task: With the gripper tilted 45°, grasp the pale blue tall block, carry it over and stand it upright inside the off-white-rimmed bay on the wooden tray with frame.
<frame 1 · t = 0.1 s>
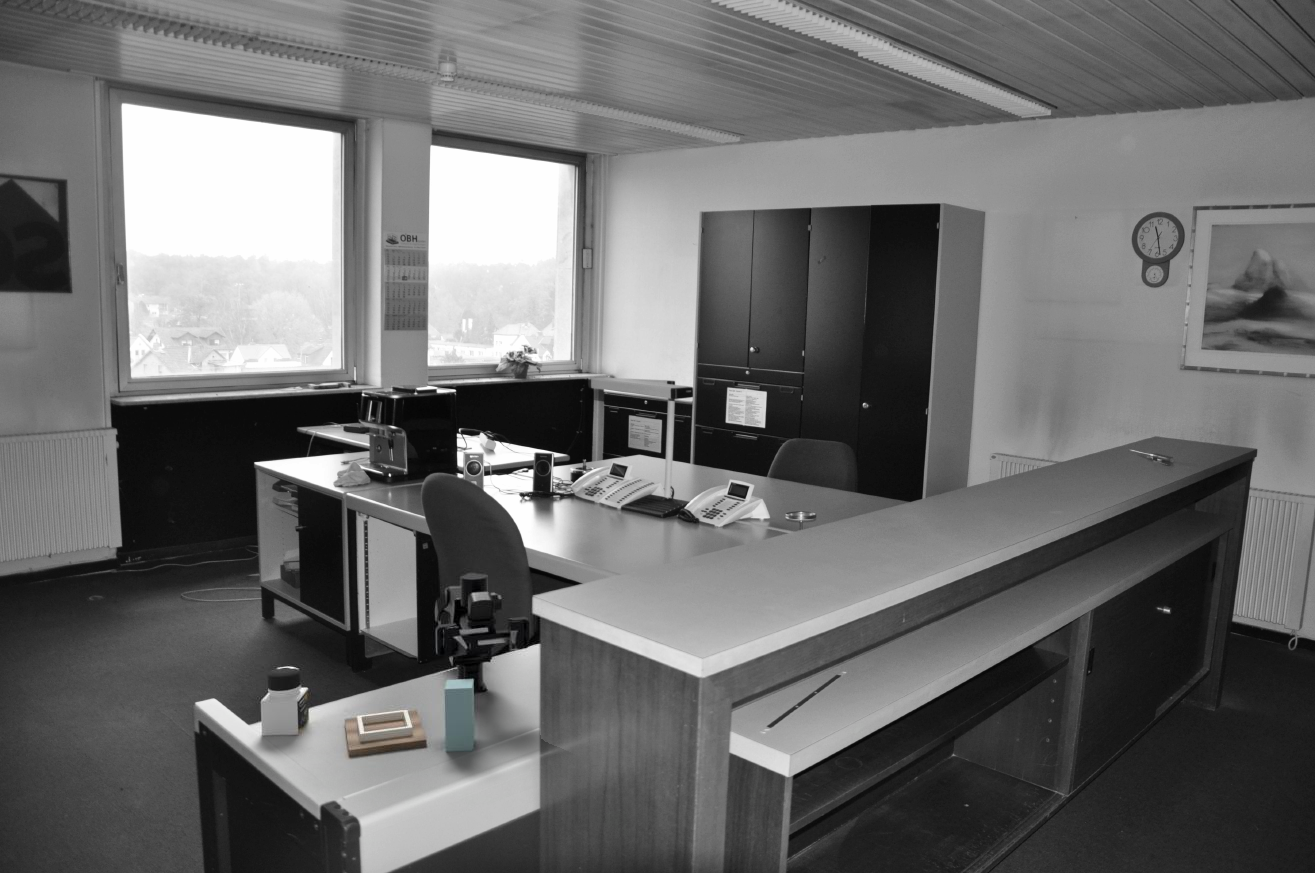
hand: (490, 648, 186), 17 cm above the table, tool horizontal, fingers open, 9 cm apart
medicine bottle: (285, 729, 188), on the table
pale blue tall block: (460, 745, 181), on the table
wooden tray with frame: (384, 734, 185), on the table
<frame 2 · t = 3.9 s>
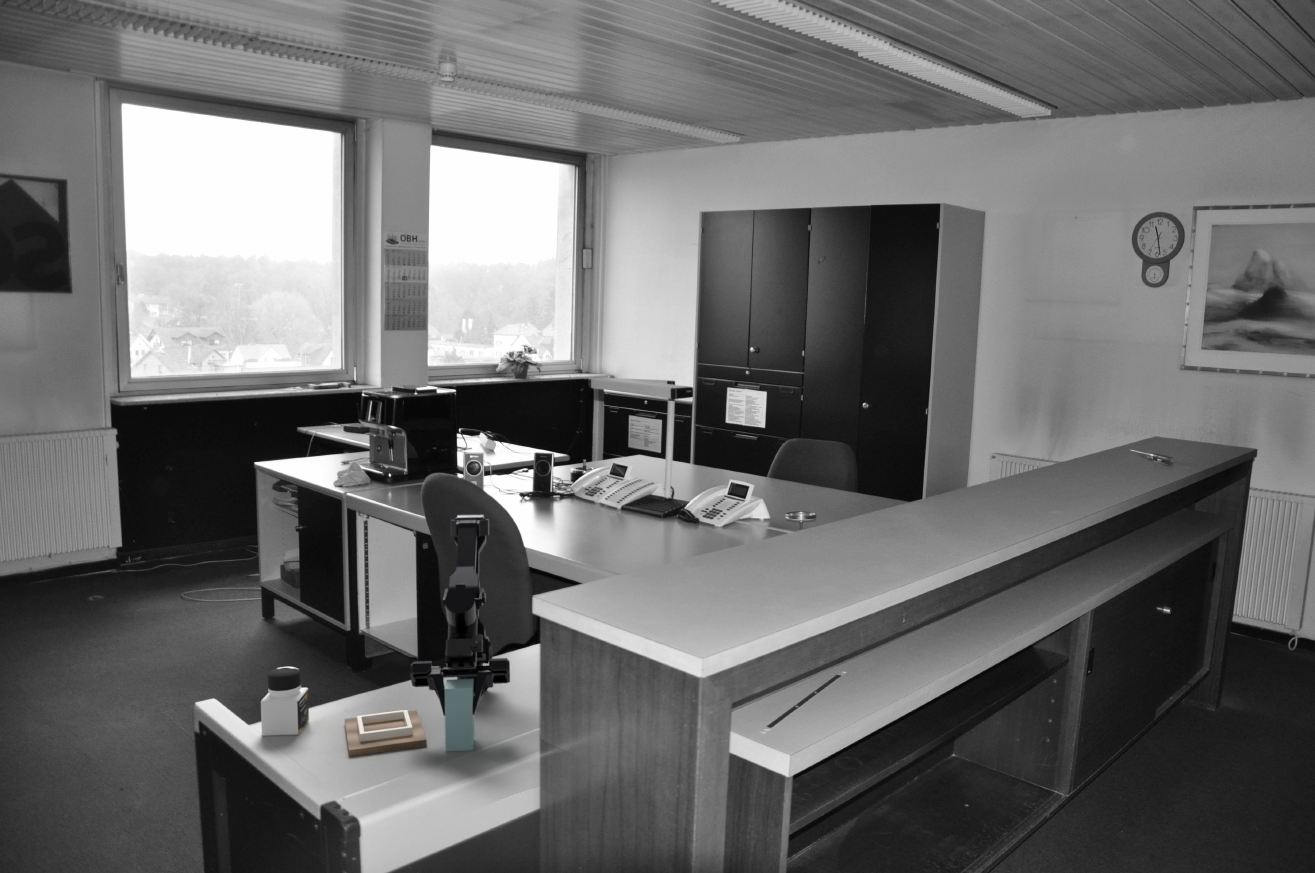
hand: (459, 714, 179), 7 cm above the table, tool tilted 45°, fingers closed on pale blue tall block, 5 cm apart
pale blue tall block: (460, 745, 181), on the table, touching gripper
everything else where it was.
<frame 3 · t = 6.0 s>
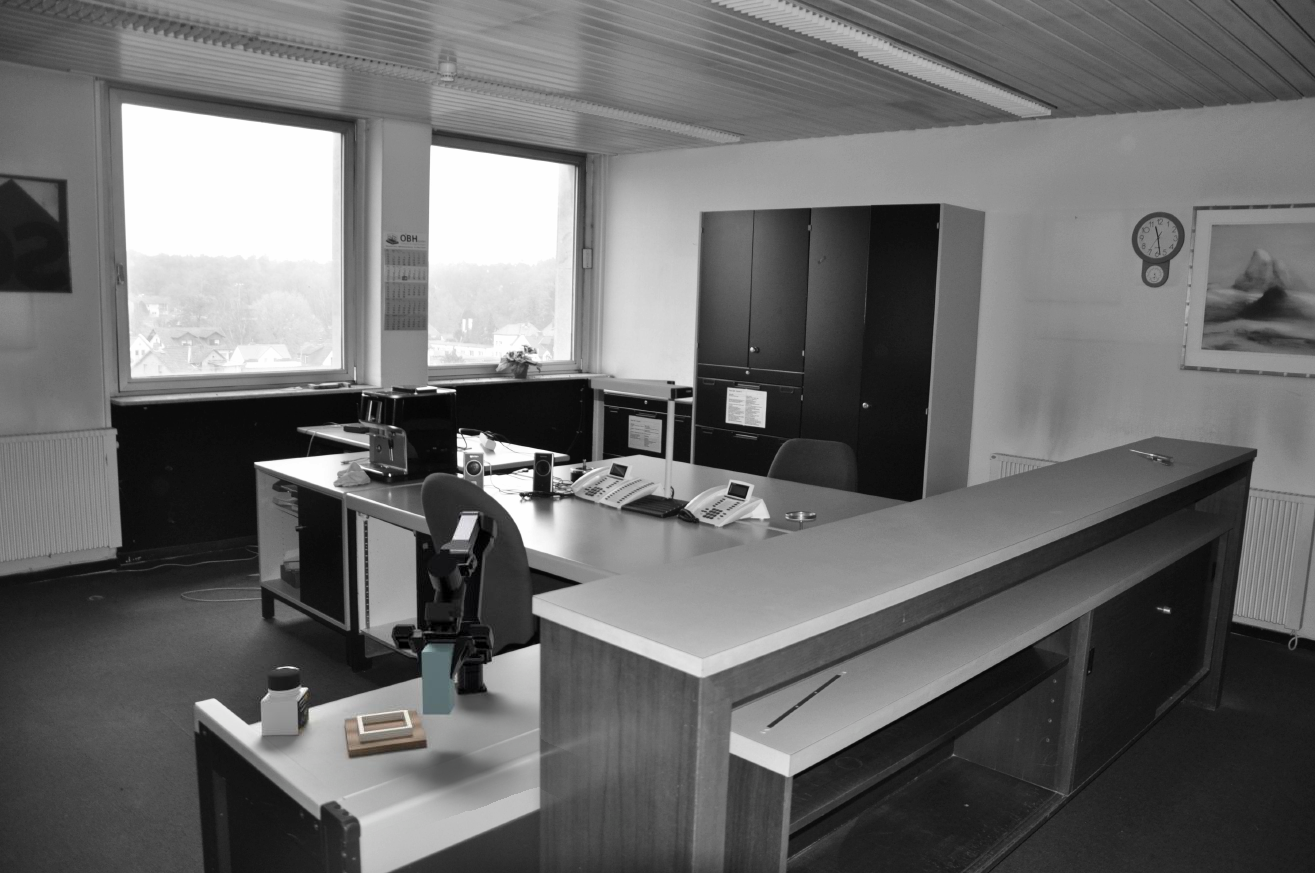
hand: (436, 677, 179), 13 cm above the table, tool tilted 45°, fingers closed on pale blue tall block, 5 cm apart
pale blue tall block: (439, 709, 181), point 7 cm above the table, touching gripper
everything else where it was.
when the fingers open (9 cm above the table, at t = 8.5 s): pale blue tall block drops 1 cm, resting on wooden tray with frame.
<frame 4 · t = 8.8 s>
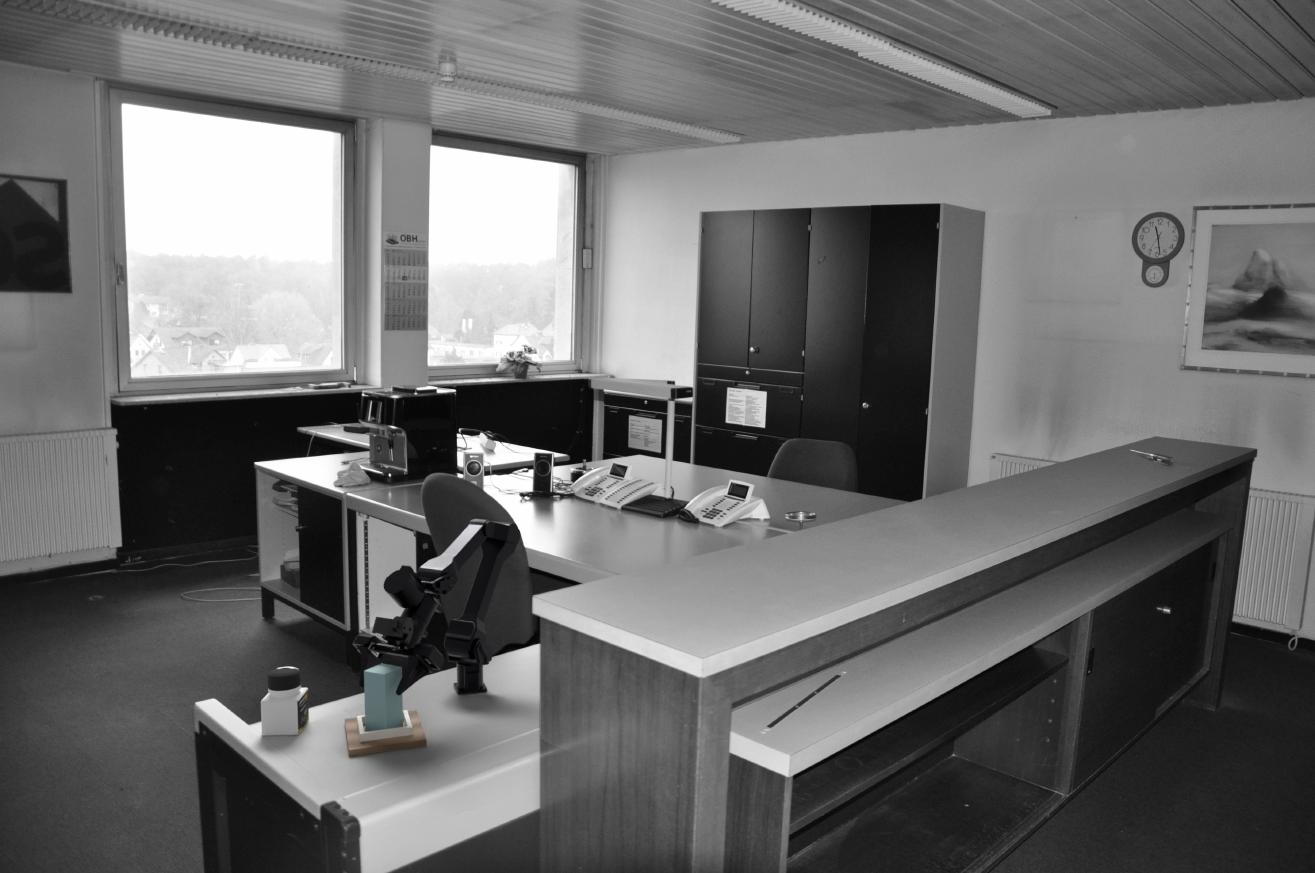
hand: (378, 690, 183), 9 cm above the table, tool tilted 45°, fingers open, 9 cm apart
pale blue tall block: (384, 728, 185), point 1 cm above the table, touching wooden tray with frame
everything else where it was.
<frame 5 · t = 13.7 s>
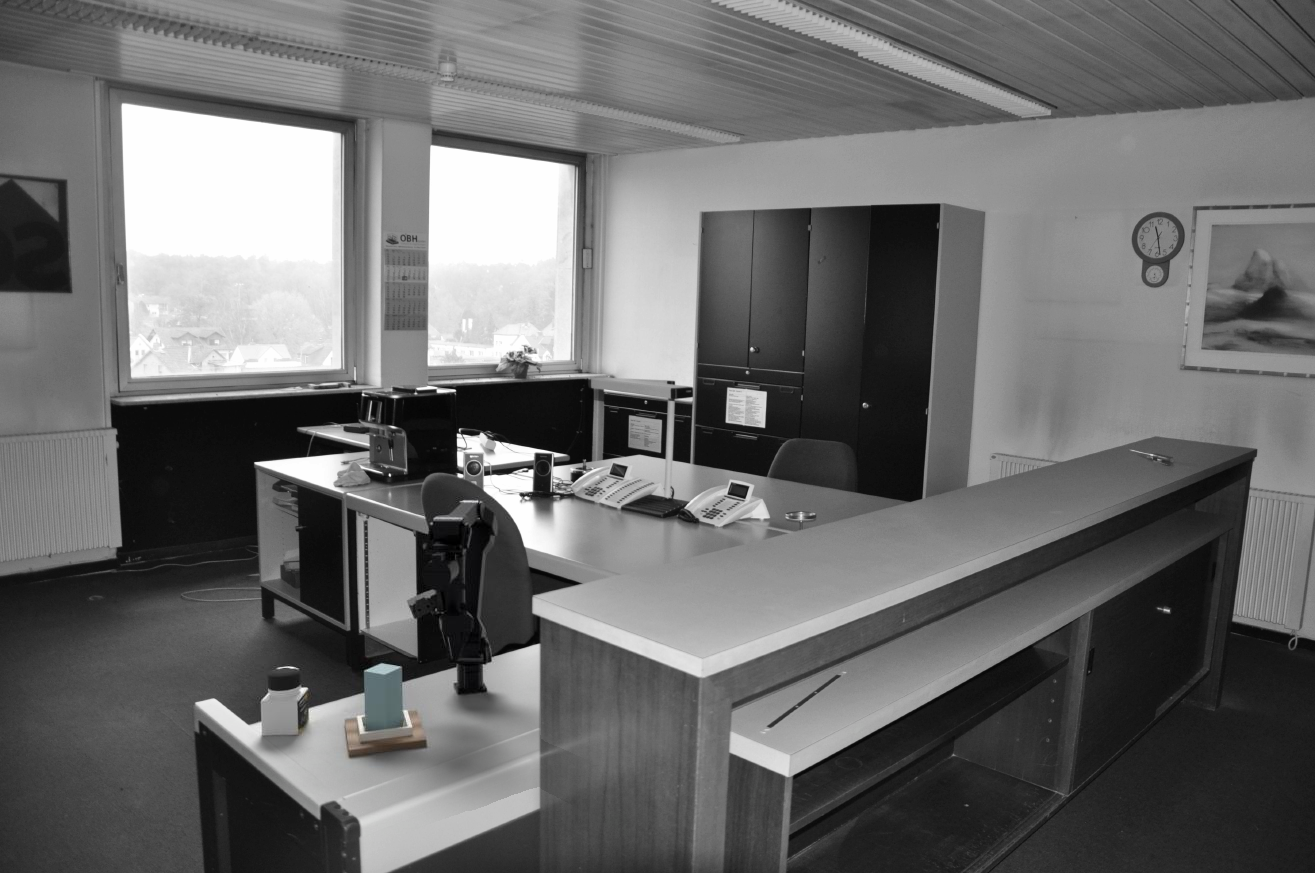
hand: (451, 652, 195), 13 cm above the table, tool pointing down, fingers open, 9 cm apart
nothing on the table moved.
at the end: pale blue tall block 0.0 cm off-centre on the wooden tray with frame, point 1.2 cm above the wooden tray with frame's base; pale blue tall block tilted 0°; the gripper is holding nothing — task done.
